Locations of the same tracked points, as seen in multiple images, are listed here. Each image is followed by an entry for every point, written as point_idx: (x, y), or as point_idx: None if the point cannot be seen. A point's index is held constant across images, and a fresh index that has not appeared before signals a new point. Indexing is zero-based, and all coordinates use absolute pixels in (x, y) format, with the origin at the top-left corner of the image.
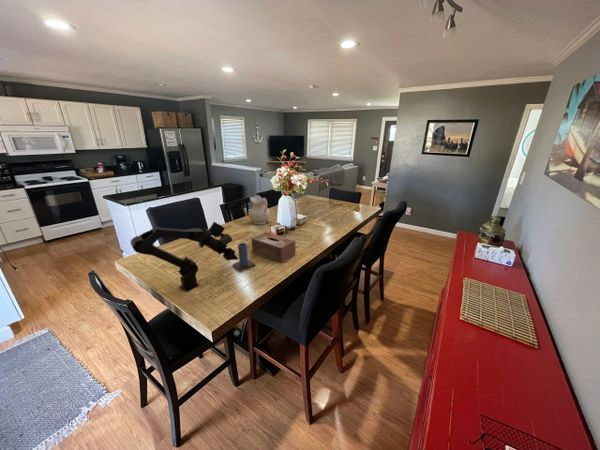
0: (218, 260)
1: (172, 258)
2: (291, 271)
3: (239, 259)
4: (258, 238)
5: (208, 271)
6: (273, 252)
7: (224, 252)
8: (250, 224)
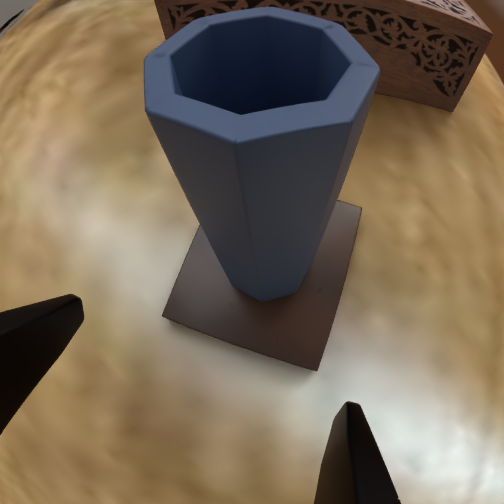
0: (21, 296)
1: None
2: None
3: (232, 272)
4: None
5: (67, 469)
6: (407, 52)
7: (21, 389)
8: (58, 5)
